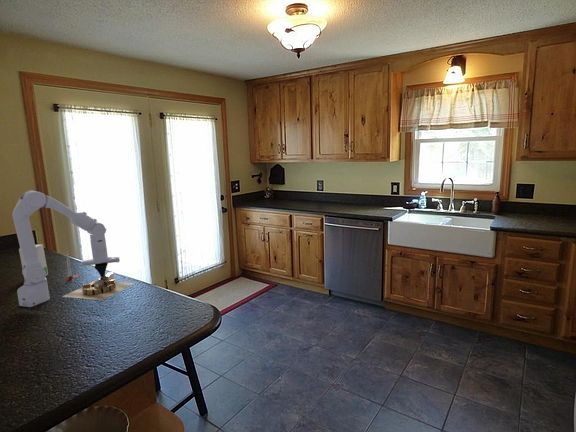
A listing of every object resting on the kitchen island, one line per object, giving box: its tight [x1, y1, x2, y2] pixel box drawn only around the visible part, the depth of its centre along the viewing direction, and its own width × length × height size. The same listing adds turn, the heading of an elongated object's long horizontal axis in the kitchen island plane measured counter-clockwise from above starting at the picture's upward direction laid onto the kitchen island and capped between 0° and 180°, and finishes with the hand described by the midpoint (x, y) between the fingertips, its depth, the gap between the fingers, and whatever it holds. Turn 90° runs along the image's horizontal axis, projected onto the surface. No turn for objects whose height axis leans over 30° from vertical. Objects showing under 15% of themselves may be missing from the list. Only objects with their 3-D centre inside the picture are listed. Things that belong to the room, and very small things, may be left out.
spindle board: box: [62, 280, 135, 301], centre depth 148 cm, size 18×20×5 cm
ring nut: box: [81, 272, 116, 295], centre depth 150 cm, size 12×16×4 cm
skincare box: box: [18, 244, 49, 281], centre depth 170 cm, size 8×7×16 cm
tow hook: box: [64, 253, 79, 282], centre depth 166 cm, size 8×13×9 cm
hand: (103, 279), depth 156 cm, fingers closed
